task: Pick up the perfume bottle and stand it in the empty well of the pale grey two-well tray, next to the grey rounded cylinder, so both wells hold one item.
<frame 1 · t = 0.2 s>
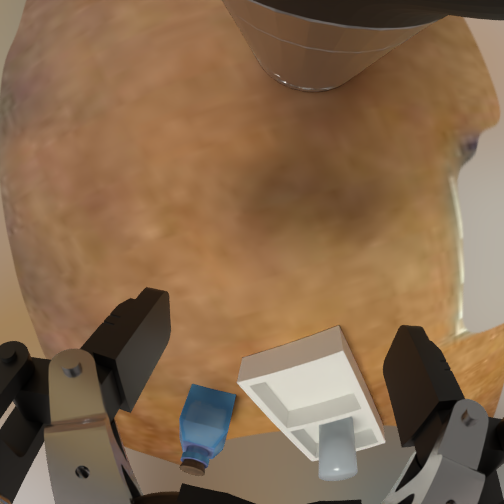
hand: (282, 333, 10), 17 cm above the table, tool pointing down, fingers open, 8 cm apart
tray: (323, 398, 35), on the table
perfume bottle: (212, 400, 39), on the table
grey rounded cylinder: (335, 422, 36), point 1 cm above the table, touching tray
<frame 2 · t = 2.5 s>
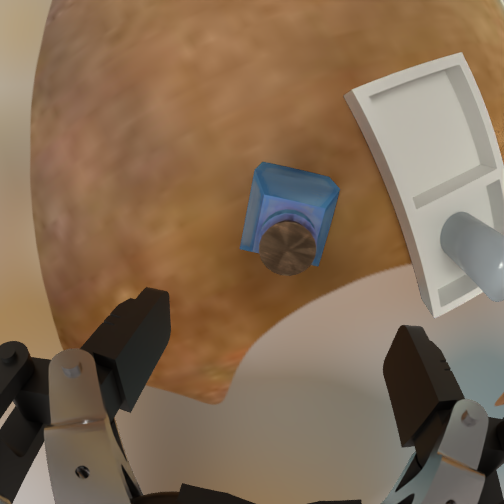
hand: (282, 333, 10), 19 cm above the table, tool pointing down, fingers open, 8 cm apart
tray: (442, 184, 24), on the table
perfume bottle: (289, 200, 27), on the table
grey rounded cylinder: (459, 235, 25), point 1 cm above the table, touching tray
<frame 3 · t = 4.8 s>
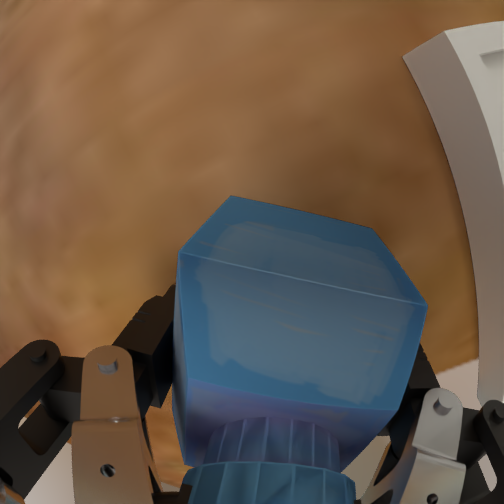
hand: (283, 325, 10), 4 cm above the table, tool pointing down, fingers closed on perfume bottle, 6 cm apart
perfume bottle: (286, 274, 14), on the table, touching gripper
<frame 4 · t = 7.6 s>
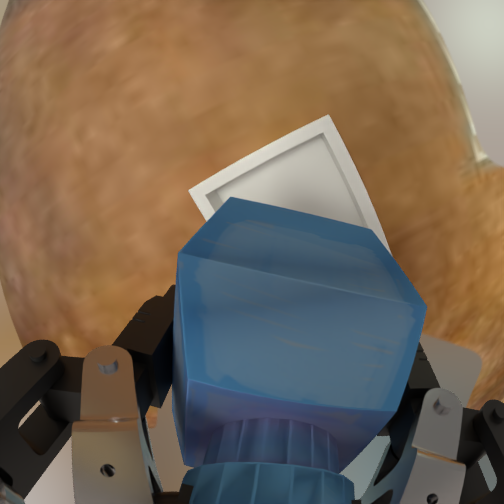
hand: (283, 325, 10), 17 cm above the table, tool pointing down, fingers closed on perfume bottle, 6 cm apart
tray: (320, 260, 27), on the table
perfume bottle: (286, 275, 14), point 13 cm above the table, touching gripper
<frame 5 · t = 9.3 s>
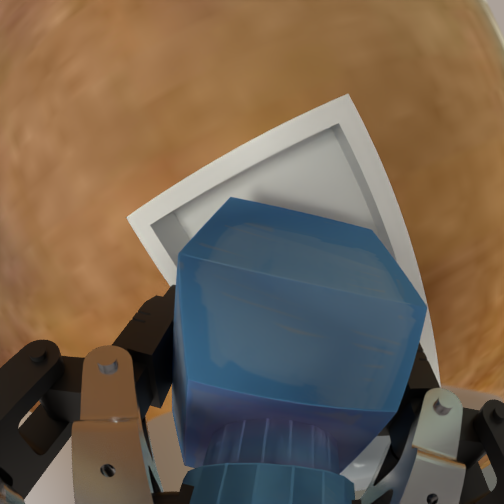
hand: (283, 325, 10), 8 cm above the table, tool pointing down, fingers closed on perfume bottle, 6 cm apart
tray: (324, 309, 19), on the table
perfume bottle: (286, 275, 14), point 5 cm above the table, touching gripper
grey rounded cylinder: (350, 370, 20), point 1 cm above the table, touching tray
when the fingers open (6 cm above the table, at t = 10.8 s): perfume bottle drops 1 cm, resting on tray.
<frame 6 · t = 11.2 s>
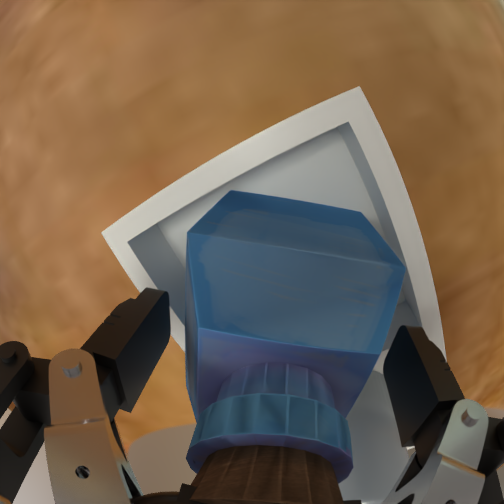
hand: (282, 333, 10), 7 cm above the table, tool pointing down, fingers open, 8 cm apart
tray: (326, 330, 17), on the table
perfume bottle: (286, 259, 15), point 1 cm above the table, touching tray
grey rounded cylinder: (354, 394, 18), point 1 cm above the table, touching tray
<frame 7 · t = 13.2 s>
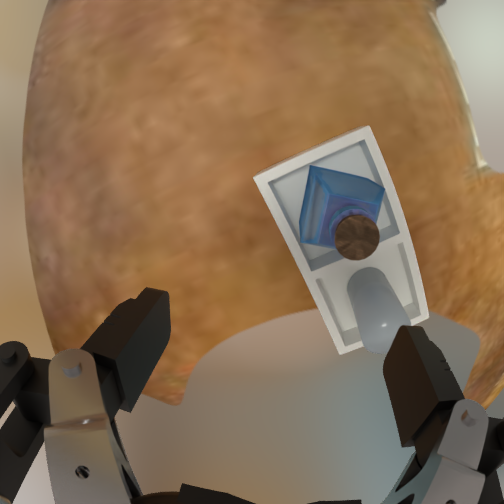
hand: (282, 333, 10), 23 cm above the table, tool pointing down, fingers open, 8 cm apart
tray: (351, 243, 32), on the table
perfume bottle: (333, 199, 30), point 1 cm above the table, touching tray
grey rounded cylinder: (367, 286, 33), point 1 cm above the table, touching tray
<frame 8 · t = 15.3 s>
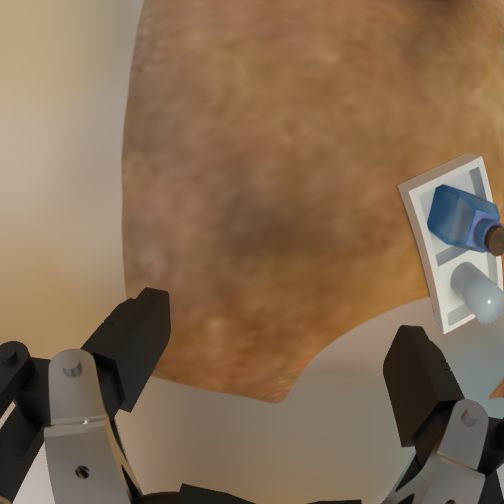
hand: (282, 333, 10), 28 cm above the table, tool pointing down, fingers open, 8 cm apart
tray: (454, 243, 35), on the table
perfume bottle: (448, 209, 33), point 1 cm above the table, touching tray
grey rounded cylinder: (463, 277, 35), point 1 cm above the table, touching tray
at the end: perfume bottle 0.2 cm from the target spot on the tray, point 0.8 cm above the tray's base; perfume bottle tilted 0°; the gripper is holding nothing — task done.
